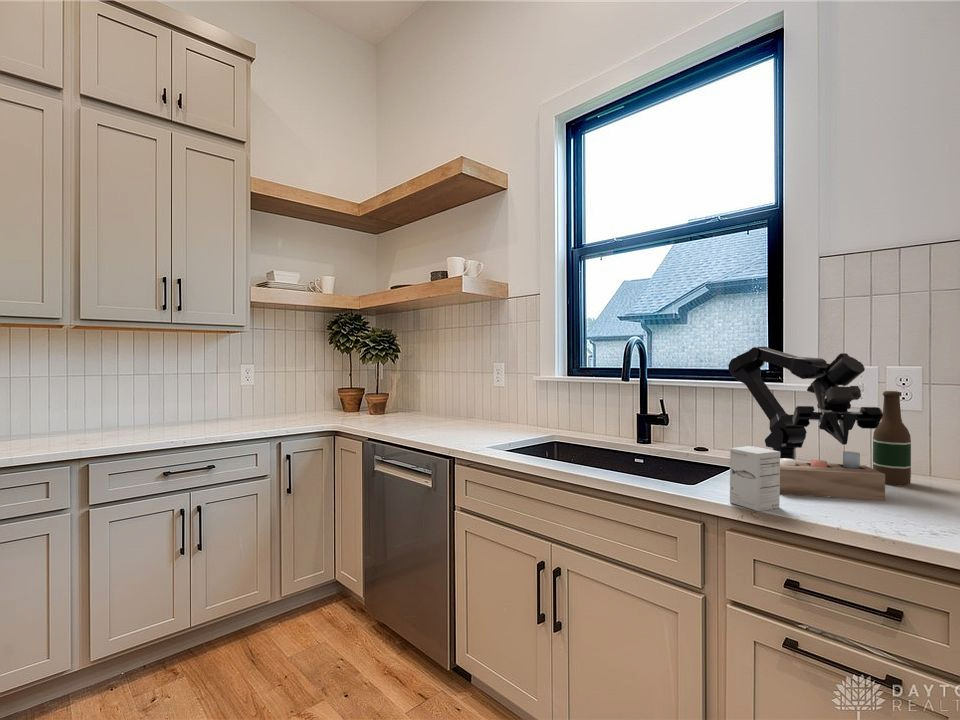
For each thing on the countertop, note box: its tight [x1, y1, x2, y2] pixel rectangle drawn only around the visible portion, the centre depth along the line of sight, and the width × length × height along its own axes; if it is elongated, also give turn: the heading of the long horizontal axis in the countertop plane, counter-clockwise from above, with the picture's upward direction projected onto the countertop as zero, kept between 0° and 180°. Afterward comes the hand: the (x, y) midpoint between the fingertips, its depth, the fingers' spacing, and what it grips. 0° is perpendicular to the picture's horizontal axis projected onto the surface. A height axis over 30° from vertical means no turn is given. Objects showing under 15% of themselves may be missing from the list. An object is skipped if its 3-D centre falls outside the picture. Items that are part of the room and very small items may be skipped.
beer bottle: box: [872, 390, 912, 487], centre depth 135 cm, size 8×8×24 cm
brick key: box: [810, 459, 828, 467], centre depth 128 cm, size 3×3×4 cm
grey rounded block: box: [842, 451, 861, 469], centre depth 126 cm, size 3×3×4 cm
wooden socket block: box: [780, 461, 886, 501], centre depth 126 cm, size 10×22×6 cm, turn 75°
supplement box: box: [729, 445, 781, 512], centre depth 115 cm, size 7×7×13 cm
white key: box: [780, 458, 796, 466], centre depth 130 cm, size 3×3×4 cm
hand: (844, 443), depth 126 cm, fingers closed
